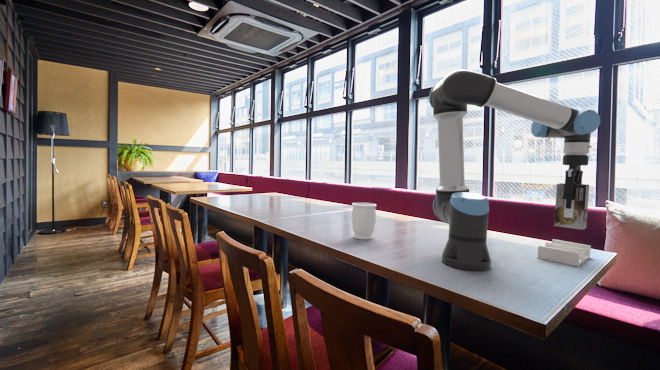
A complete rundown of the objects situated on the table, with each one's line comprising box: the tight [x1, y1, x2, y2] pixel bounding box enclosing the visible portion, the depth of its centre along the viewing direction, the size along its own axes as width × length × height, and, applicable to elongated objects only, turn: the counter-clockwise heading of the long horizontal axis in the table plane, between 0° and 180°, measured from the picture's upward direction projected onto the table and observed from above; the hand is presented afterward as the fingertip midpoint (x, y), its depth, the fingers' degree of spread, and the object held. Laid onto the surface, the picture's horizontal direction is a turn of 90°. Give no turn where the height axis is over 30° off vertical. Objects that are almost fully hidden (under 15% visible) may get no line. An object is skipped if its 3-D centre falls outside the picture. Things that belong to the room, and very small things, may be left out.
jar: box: [351, 201, 378, 241], centre depth 140 cm, size 11×10×15 cm
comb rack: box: [537, 238, 592, 267], centre depth 118 cm, size 12×18×4 cm
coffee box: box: [553, 183, 590, 231], centre depth 120 cm, size 9×6×16 cm
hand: (570, 216), depth 120 cm, fingers closed on coffee box, 7 cm apart
